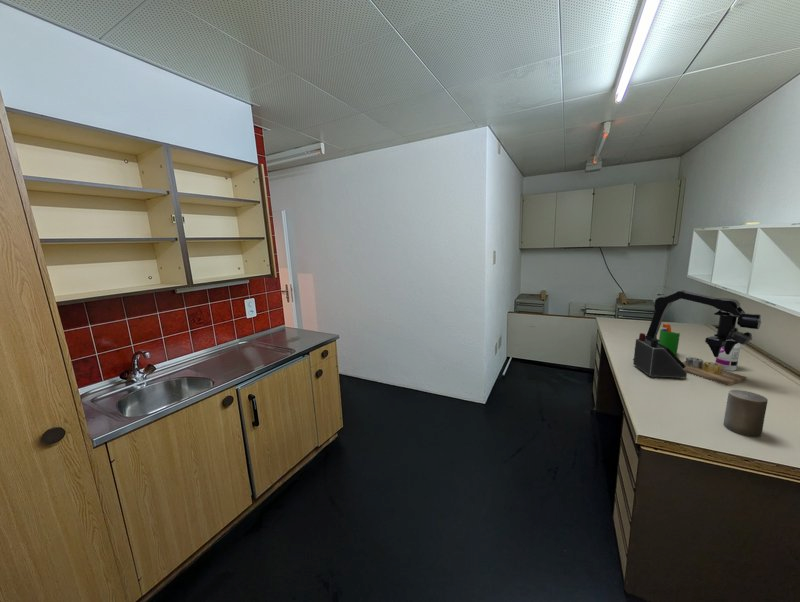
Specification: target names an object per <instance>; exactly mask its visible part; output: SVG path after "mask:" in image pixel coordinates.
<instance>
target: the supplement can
mask: <svg viewBox="0 0 800 602" xmlns="http://www.w3.org/2000/svg"><path fill="white" fill-rule="evenodd" d="M740 353H741V344H740V343H738V344H736V345H735V346H734V347H733V349H732V350H731V352H730V354H729V355H727V354H726V353H725V350H724V347H722V348H721V350H720V353H719V355H718V357H715V362H714V363H718V364H719V365H722V370H724V371H728V372H732V371H733V372H734V371H736V370H737V369H738V364H739V357H740Z"/></svg>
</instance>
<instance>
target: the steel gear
mask: <svg viewBox="0 0 800 602" xmlns="http://www.w3.org/2000/svg"><path fill="white" fill-rule="evenodd" d="M693 358H694V357H691V356H688V357H685V361H686V363H685V365H687V366H688V367H692V368H698V369H700V368H703V363H705V362H704V359H702V358H697V357H696V358H697V360H693Z"/></svg>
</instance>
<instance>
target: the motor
mask: <svg viewBox="0 0 800 602" xmlns="http://www.w3.org/2000/svg"><path fill="white" fill-rule="evenodd" d="M659 330H660V331H659V340H660V341H659V342H658V343H659V344H661V345H663V346H665V347H667V348H669V349H670V350H671V351H672V352H673V353H674V354H675V355H676V356H677V354H678V349H679V348H678V347H679V342H680V336H681V333H680V332H679V333H678V332H673V331H672V327H671V324H669V323H663V324H662V328H660V329H659Z"/></svg>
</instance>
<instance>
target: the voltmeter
mask: <svg viewBox="0 0 800 602" xmlns="http://www.w3.org/2000/svg"><path fill="white" fill-rule="evenodd" d="M638 335H639V336H638V338H635V344H634V345H635V347H634V353H633V359H634V360H633V363H632V365H634V366H635V367H636V368H637V369H639V370H641V371H642V372H644V373H645V374H646V375H648V377H649V378H655V377H665V378H675V379H676V380H682V378H683V379H684V378H685V379H686V378H687V376H688V373H687V372H686V371H685V370H684V369H683V368H685V367H686V366H685V365H684V364H683V363H682V362H683V361H682V360H681V359H680V358H679V357H678V356H677V355H675V354H674V353H673V352H672V351H671V350H670V349H669V348H667V347H665V346H663V345H661V344H659V342H658V343H657V340H656V339H651V342H650V341H648V340H646V339H645V336H646V333H643V332H641V333H639V334H638Z"/></svg>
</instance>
